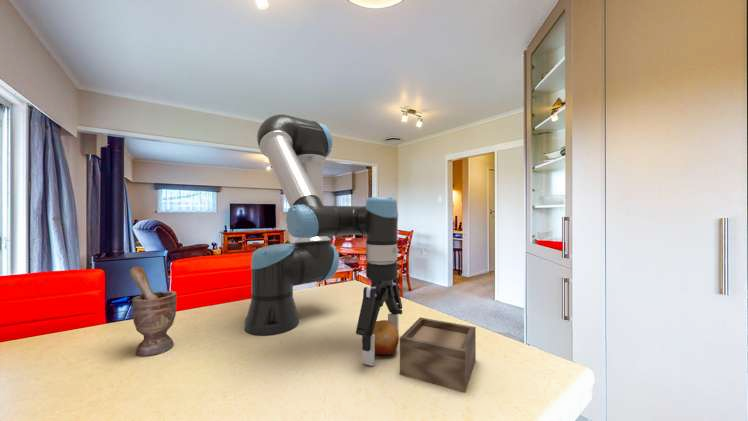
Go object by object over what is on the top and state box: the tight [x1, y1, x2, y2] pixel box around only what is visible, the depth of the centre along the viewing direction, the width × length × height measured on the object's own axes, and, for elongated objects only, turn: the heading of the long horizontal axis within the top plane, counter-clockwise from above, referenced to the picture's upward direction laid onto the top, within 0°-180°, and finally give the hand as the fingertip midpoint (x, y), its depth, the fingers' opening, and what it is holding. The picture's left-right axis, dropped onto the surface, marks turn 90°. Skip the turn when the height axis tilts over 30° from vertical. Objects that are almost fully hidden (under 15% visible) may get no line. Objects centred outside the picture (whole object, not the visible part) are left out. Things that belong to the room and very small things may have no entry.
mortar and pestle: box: [129, 265, 178, 357], centre depth 70 cm, size 12×9×20 cm
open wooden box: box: [399, 316, 477, 393], centre depth 62 cm, size 13×13×8 cm
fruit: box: [373, 319, 400, 356], centre depth 69 cm, size 8×8×8 cm
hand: (381, 350), depth 69 cm, fingers open, 13 cm apart
